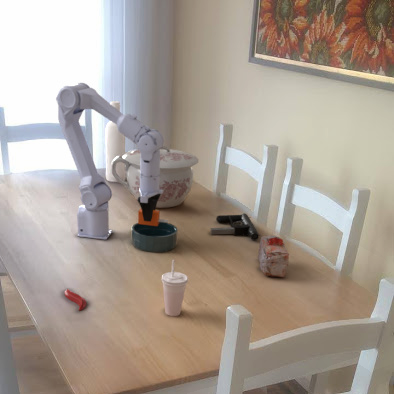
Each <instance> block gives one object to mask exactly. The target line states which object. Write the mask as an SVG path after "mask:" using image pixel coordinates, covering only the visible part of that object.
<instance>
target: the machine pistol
mask: <svg viewBox="0 0 394 394" xmlns="http://www.w3.org/2000/svg"><path fill="white" fill-rule="evenodd" d="M251 218H252V217H251V216H250V217H249V215H248V214H247V213H245V212H244V213H241V214H223V215H221V214H220V215H217V216H216V219H215V220H216V222H217V223H219V224H229V226H230V227H211V228H210V235H213V236H214V235H215V236H216V235H234V236H235V237H240V236H242V237H243V236H249V238H250V239H251V240H252V241H257V240H258V239H259V237H260V234H259V232H258V230H257V228H256V227H255V225H254V224H253V222H252V219H251Z"/></svg>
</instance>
